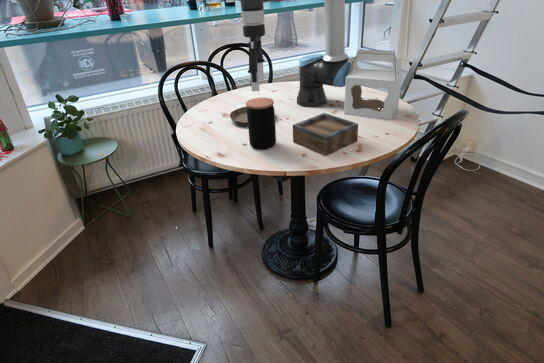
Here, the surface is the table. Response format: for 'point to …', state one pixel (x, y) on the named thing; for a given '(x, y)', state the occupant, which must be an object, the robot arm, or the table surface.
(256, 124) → the coffee jar
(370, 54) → the gable box
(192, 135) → the table surface
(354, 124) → the square wooden box
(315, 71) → the robot arm
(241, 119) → the plant saucer
